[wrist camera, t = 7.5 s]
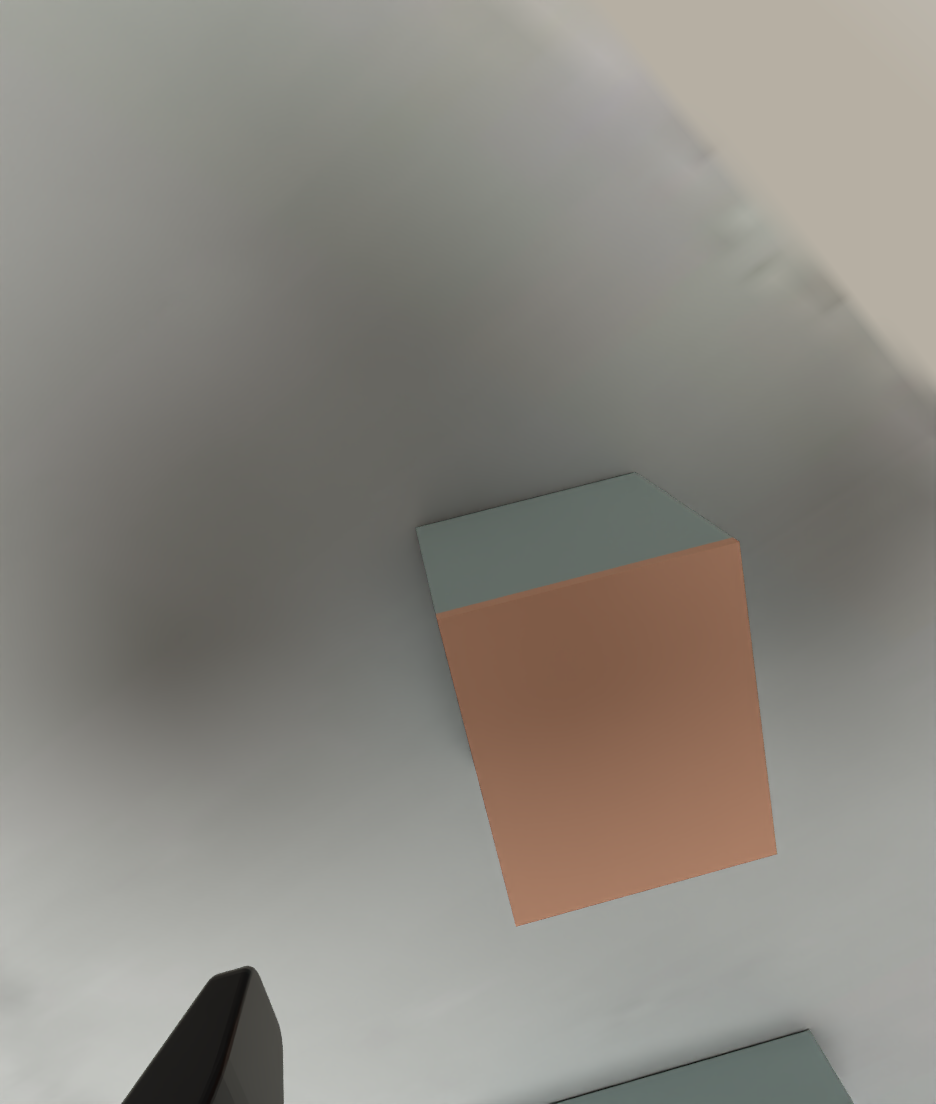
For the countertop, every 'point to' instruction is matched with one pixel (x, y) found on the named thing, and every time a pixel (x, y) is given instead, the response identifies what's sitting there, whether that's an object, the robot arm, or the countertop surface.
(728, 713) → the teal and orange block
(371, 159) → the countertop surface
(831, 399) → the countertop surface
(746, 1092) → the teal block with bar
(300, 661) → the countertop surface
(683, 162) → the countertop surface
